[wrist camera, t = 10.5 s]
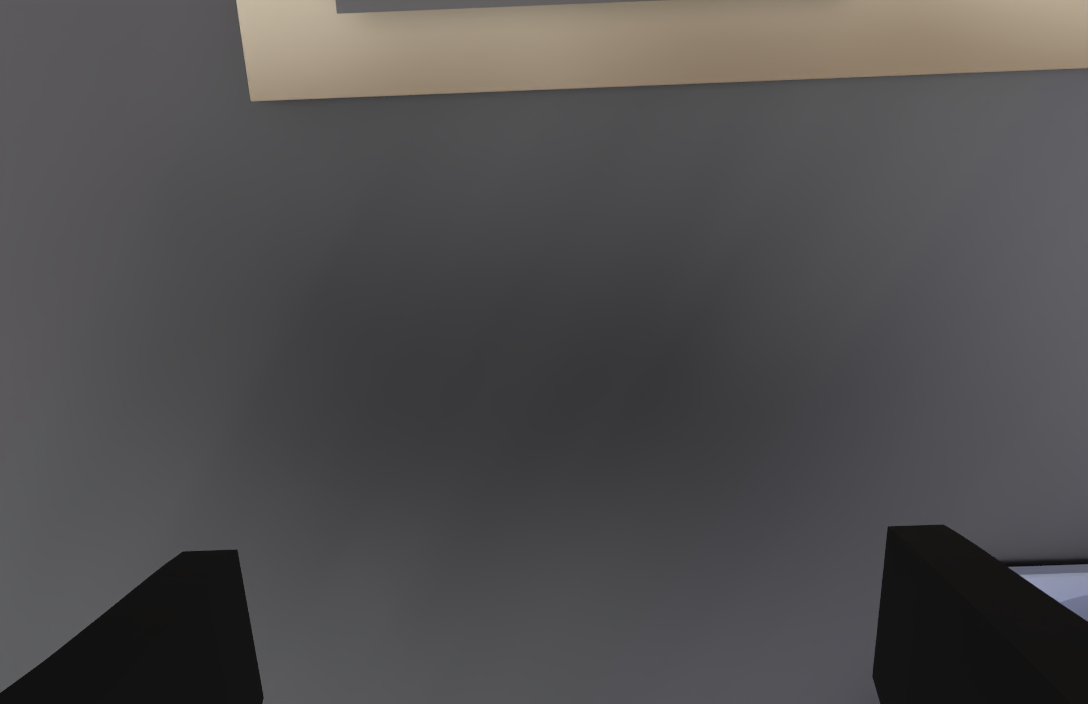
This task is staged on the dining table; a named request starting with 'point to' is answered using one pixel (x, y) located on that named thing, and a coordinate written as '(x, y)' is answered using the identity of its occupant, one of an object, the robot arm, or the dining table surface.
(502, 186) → the dining table surface
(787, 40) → the rail
